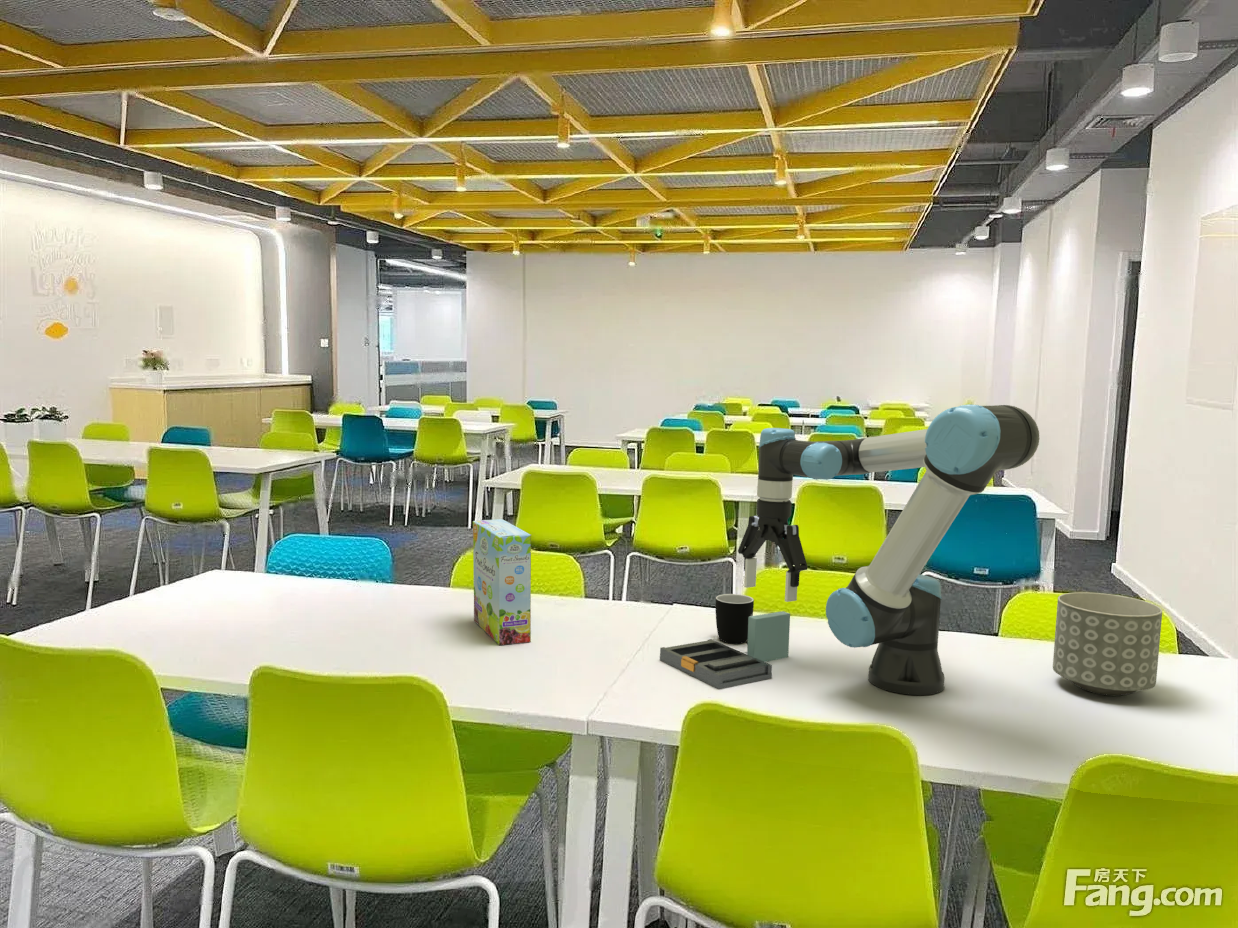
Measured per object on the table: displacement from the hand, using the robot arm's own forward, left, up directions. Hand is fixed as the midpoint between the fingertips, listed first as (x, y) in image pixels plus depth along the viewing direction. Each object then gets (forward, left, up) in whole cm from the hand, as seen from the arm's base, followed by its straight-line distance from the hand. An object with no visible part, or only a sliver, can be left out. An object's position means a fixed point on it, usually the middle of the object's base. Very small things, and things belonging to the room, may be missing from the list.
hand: (769, 593), depth 206 cm
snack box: (+46, +44, -15) cm, 65 cm away
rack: (0, +15, -15) cm, 21 cm away
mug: (+16, -3, -15) cm, 22 cm away
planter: (-48, -49, -15) cm, 70 cm away
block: (0, 0, -15) cm, 15 cm away
